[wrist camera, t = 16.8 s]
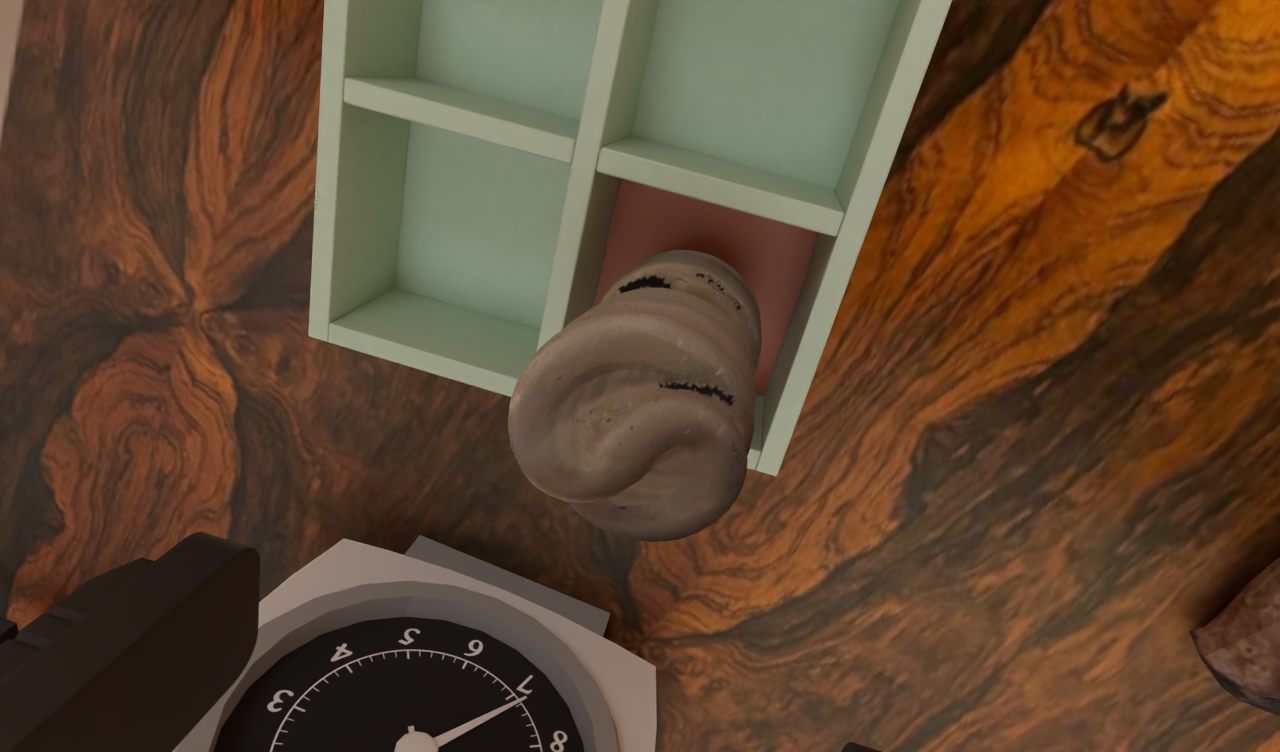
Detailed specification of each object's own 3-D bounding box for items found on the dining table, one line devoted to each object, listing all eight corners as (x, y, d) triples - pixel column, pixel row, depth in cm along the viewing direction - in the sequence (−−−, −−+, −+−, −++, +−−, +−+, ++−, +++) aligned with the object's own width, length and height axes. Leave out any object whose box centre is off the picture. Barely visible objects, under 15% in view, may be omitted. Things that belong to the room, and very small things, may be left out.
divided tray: (384, 294, 32) (307, 336, 27) (430, -192, 25) (336, -264, 20) (777, 409, 31) (776, 477, 26) (946, -68, 24) (993, -109, 19)
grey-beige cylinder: (598, 285, 29) (439, 464, 16) (688, 180, 27) (593, 283, 14) (702, 376, 30) (636, 623, 16) (798, 280, 28) (813, 474, 14)
